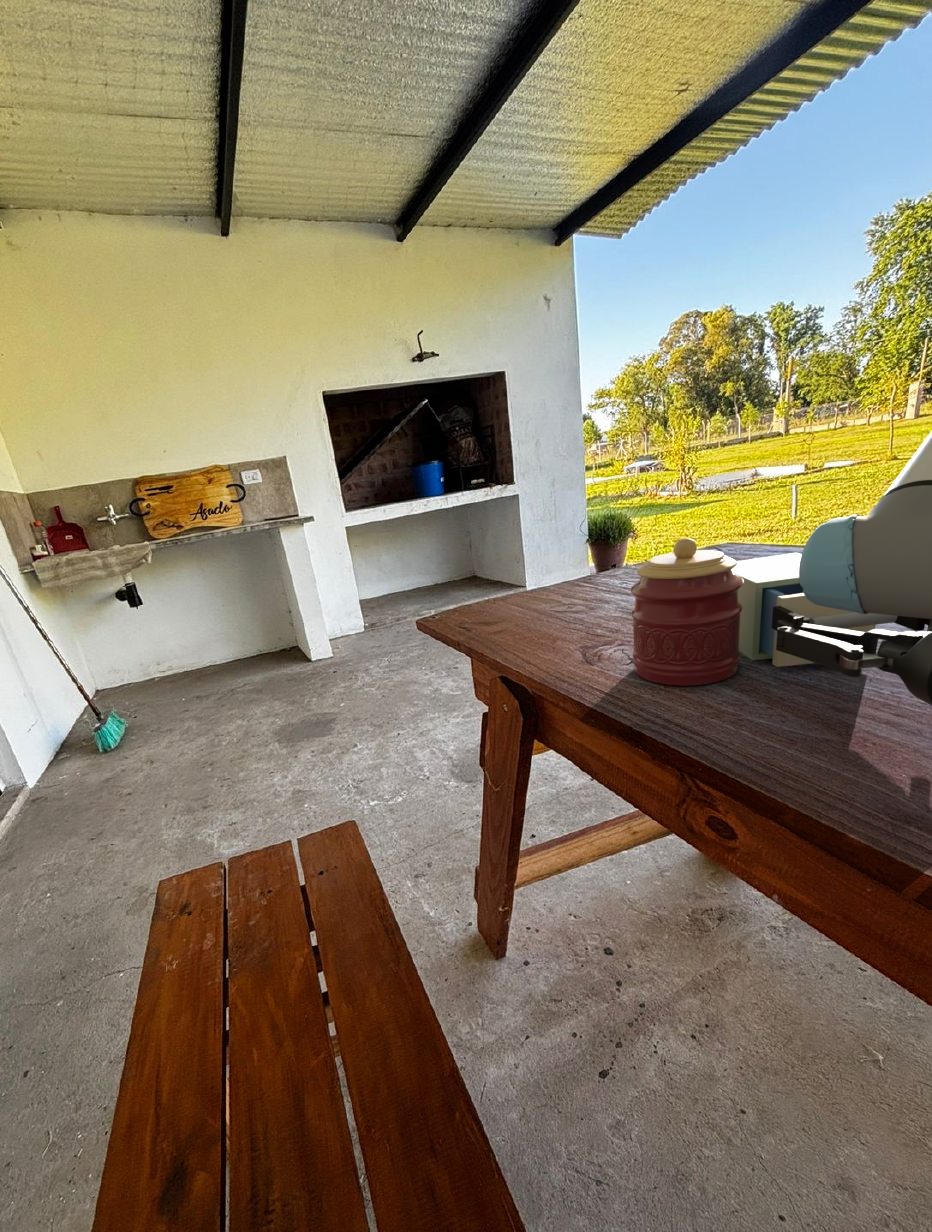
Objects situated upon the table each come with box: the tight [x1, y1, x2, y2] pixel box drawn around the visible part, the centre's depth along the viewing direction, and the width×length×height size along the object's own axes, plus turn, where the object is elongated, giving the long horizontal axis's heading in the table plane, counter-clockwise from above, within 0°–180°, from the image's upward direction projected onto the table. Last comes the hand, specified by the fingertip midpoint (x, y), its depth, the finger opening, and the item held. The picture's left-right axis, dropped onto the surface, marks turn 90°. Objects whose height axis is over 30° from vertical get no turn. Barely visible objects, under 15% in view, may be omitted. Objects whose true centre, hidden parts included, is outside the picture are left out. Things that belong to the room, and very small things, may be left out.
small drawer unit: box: [732, 552, 802, 661], centre depth 74 cm, size 15×12×11 cm
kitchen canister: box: [630, 537, 744, 687], centre depth 69 cm, size 13×13×18 cm
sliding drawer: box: [759, 583, 897, 668], centre depth 67 cm, size 18×10×9 cm, turn 172°
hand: (827, 610), depth 62 cm, fingers closed on sliding drawer, 10 cm apart
